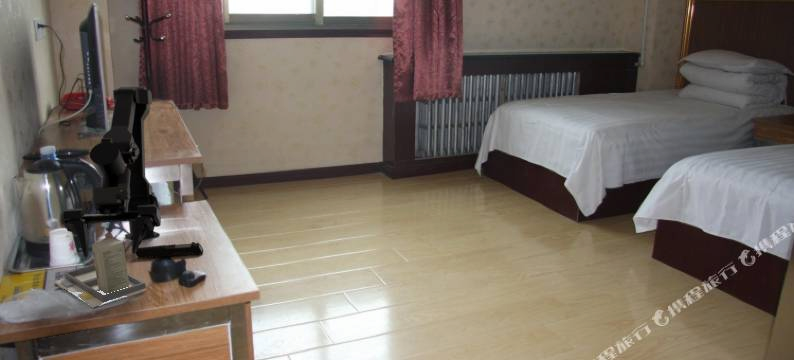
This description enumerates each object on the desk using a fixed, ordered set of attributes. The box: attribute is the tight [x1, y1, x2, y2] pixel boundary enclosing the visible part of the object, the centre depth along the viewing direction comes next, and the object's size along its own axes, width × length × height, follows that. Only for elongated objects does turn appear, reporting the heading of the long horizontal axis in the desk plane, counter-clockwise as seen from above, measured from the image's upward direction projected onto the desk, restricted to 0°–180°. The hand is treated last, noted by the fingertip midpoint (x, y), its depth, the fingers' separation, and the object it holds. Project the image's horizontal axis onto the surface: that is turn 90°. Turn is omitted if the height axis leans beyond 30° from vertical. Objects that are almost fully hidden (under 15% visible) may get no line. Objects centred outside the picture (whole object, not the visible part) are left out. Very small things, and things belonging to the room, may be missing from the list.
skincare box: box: [91, 237, 129, 294], centre depth 130 cm, size 5×4×10 cm
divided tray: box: [54, 263, 147, 309], centre depth 133 cm, size 18×11×2 cm, turn 49°
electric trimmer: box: [134, 241, 204, 259], centre depth 150 cm, size 4×16×3 cm, turn 103°
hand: (109, 255), depth 129 cm, fingers open, 9 cm apart
